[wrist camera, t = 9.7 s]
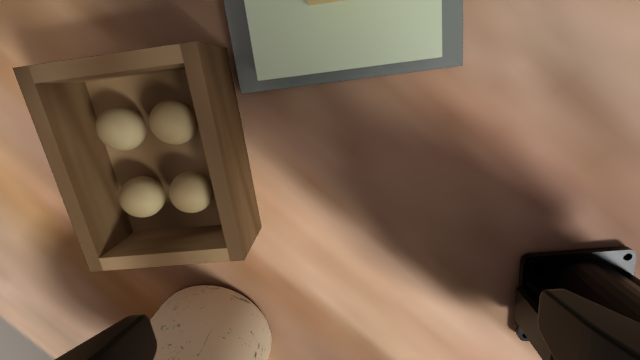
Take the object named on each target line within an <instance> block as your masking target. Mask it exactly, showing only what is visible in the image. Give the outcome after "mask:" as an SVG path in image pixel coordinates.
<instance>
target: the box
mask: <svg viewBox="0 0 640 360" xmlns="http://www.w3.org/2000/svg"><path fill="white" fill-rule="evenodd" d="M13 70H14V73H15V76H16V78H17V81H18V84H19V86H20V89H21V91H22V94H23V97H24V99H25V102H26V105H27V107H28V110H29V112H30V115H31V118H32V120H33V123H34V126H35V128H36V131H37V133H38V136H39V139H40V141H41V144H42V147H43V149H44V152H45V154H46V157H47V160H48V162H49V165H50V168H51V170H52V173H53V175H54V178H55V181H56V183H57V186H58V189H59V191H60V194H61V196H62V199H63V202H64V204H65V207H66V210H67V212H68V215H69V217H70V220H71V223H72V225H73V228H74V231H75V233H76V236H77V238H78V241H79V244H80V246H81V249H82V252H83V254H84V257H85V259H86V262H87V265H88V267H89V270H90V272H95V271H108V270H121V269H134V268H147V267H161V266H174V265H187V264H200V263H213V262H226V261H239V260H245V258H246V256H247V254H248V252H249V250H250V248H251V246H252V244H253V243H254V241H255V239H256V237H257V235H258V233H259V231H260V229H261V222H260V217H259V212H258V206H257V201H256V196H255V191H254V186H253V181H252V175H251V170H250V165H249V160H248V155H247V150H246V144H245V139H244V134H243V129H242V124H241V119H240V113H239V108H238V103H237V98H236V93H235V88H234V82H233V77H232V72H231V67H230V62H229V56H228V51H227V48H224V47H219V46H215V45H211V44H207V43H202V42H198V41H194V42H187V43H180V44H173V45H166V46H160V47H153V48H146V49H139V50H132V51H125V52H118V53H112V54H105V55H98V56H91V57H84V58H77V59H70V60H64V61H57V62H50V63H43V64H36V65H29V66H22V67H15V68H13Z"/></svg>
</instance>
